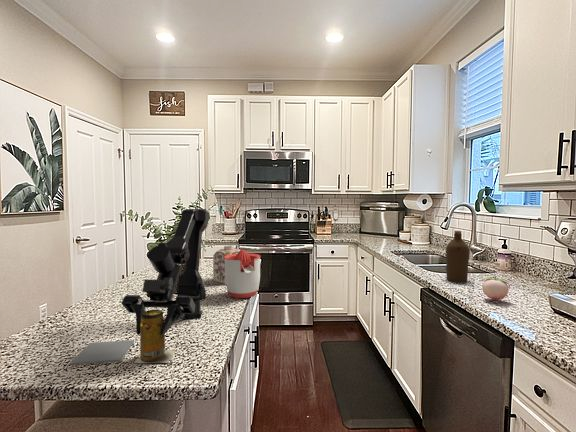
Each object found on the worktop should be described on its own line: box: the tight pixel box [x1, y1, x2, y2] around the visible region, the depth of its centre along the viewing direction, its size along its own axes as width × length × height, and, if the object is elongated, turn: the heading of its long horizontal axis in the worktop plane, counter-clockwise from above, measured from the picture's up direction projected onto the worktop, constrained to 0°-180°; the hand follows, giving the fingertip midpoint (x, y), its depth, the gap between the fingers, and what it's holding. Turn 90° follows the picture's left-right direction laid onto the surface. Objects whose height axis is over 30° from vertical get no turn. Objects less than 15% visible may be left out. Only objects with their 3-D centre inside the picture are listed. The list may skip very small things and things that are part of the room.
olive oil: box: [445, 230, 470, 283], centre depth 170 cm, size 11×11×25 cm
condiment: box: [133, 309, 177, 364], centre depth 89 cm, size 7×8×12 cm
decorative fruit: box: [481, 276, 510, 302], centre depth 136 cm, size 9×8×10 cm
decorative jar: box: [212, 244, 241, 285], centre depth 170 cm, size 12×12×18 cm
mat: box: [69, 339, 135, 366], centre depth 92 cm, size 12×12×1 cm
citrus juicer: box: [224, 248, 261, 299], centre depth 145 cm, size 16×17×20 cm
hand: (149, 334), depth 87 cm, fingers closed on condiment, 6 cm apart
